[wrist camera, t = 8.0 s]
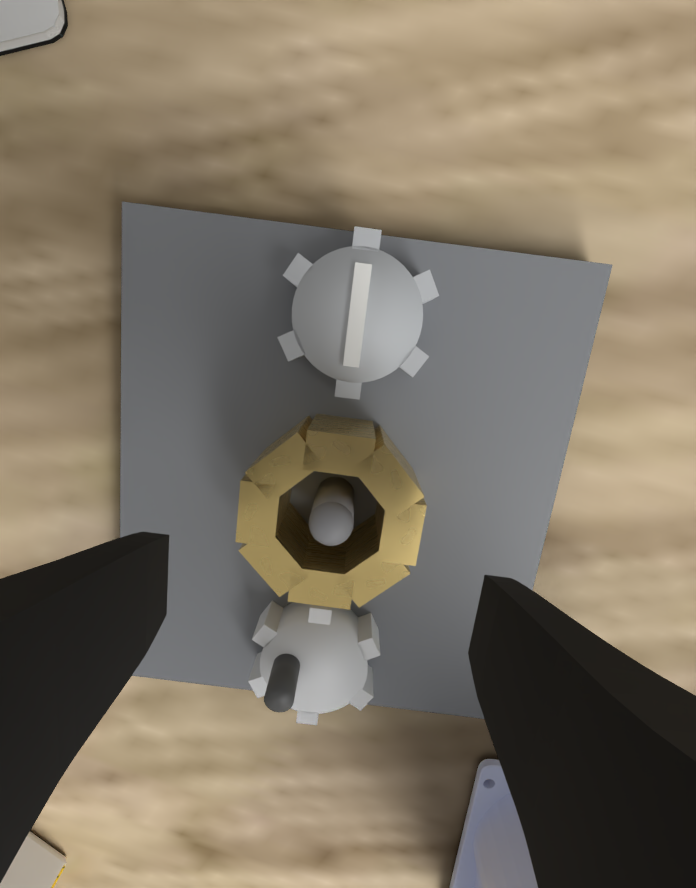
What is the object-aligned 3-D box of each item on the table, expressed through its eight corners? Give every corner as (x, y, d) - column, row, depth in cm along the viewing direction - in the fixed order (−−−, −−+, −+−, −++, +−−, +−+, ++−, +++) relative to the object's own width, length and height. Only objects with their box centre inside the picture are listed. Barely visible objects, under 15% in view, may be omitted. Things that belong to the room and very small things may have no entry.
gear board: (491, 698, 19) (530, 801, 15) (133, 654, 19) (68, 745, 15) (593, 270, 15) (686, 242, 11) (140, 212, 15) (52, 160, 11)
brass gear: (397, 569, 17) (406, 617, 14) (253, 550, 17) (230, 593, 14) (422, 427, 16) (437, 447, 13) (266, 406, 16) (245, 421, 13)
